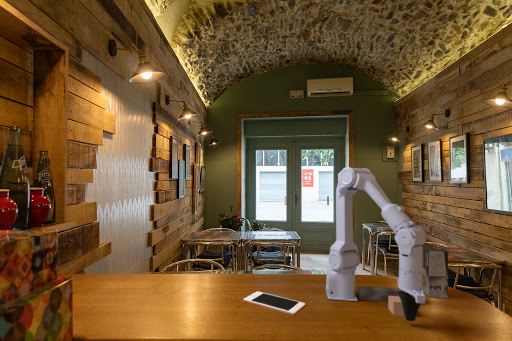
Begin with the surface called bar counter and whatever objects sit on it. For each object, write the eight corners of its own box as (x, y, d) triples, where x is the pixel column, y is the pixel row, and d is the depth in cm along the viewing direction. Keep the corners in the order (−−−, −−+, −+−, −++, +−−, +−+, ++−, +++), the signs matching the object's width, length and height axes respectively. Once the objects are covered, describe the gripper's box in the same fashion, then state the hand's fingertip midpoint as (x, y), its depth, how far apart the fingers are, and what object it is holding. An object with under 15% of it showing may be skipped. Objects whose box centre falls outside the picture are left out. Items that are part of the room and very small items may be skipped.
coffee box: (448, 299, 103) (449, 251, 104) (428, 297, 104) (428, 250, 105) (438, 289, 112) (438, 246, 113) (419, 288, 113) (419, 244, 114)
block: (393, 315, 89) (393, 301, 89) (388, 308, 94) (388, 295, 94) (411, 317, 88) (411, 303, 89) (405, 309, 93) (405, 296, 94)
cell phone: (257, 293, 104) (257, 291, 104) (305, 306, 95) (305, 303, 95) (242, 301, 97) (242, 299, 97) (294, 316, 87) (294, 313, 87)
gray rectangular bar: (359, 299, 101) (359, 288, 101) (357, 296, 104) (357, 285, 104) (423, 304, 98) (423, 293, 98) (419, 300, 101) (419, 290, 101)
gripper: (438, 279, 76) (437, 334, 75) (415, 263, 90) (415, 310, 90) (408, 277, 77) (408, 331, 76) (390, 262, 91) (390, 308, 91)
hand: (409, 319), depth 83 cm, fingers closed
